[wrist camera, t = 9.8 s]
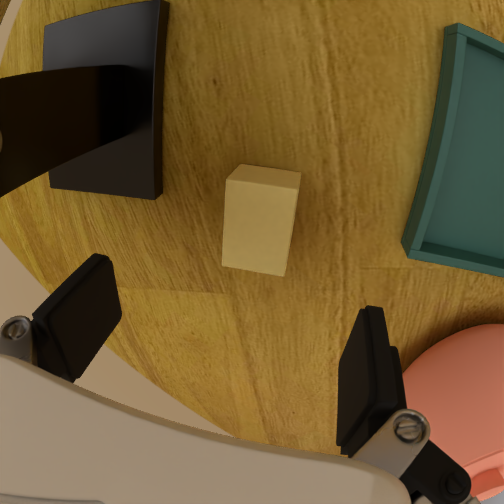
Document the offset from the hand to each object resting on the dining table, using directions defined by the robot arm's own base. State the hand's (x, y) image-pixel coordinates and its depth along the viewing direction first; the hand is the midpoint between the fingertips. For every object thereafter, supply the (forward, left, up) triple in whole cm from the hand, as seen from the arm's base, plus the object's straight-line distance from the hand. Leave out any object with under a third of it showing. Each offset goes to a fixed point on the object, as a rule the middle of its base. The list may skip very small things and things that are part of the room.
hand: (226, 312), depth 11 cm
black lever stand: (-6, -11, -9) cm, 15 cm away
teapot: (+11, +20, -9) cm, 24 cm away
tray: (-6, +14, -9) cm, 18 cm away
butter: (0, 0, -9) cm, 9 cm away
